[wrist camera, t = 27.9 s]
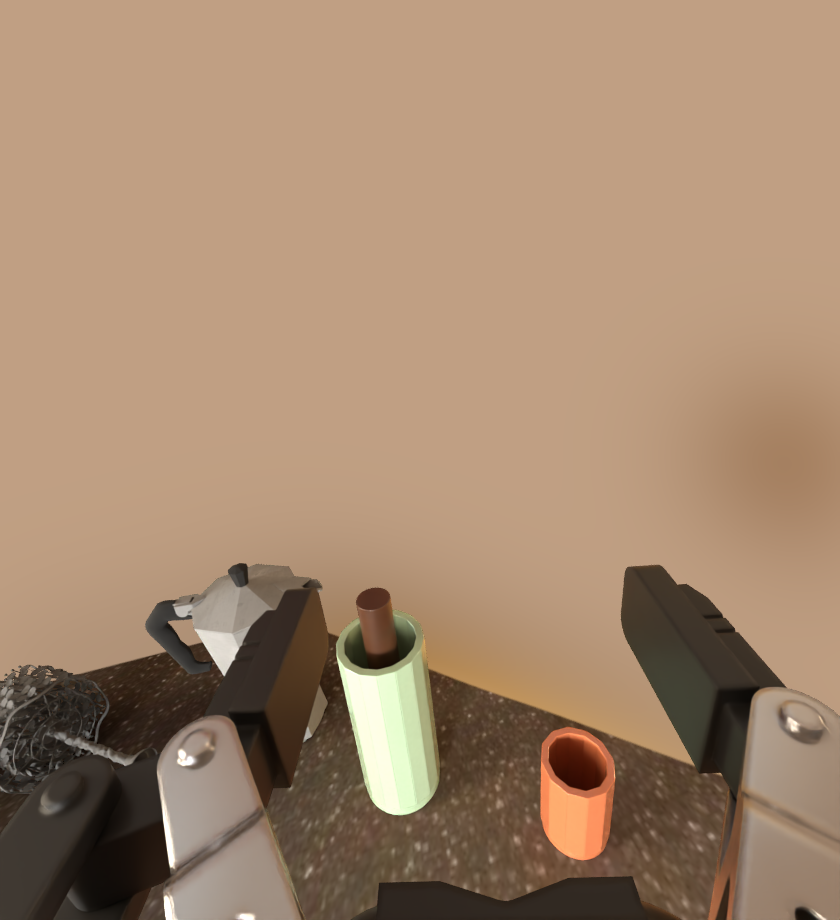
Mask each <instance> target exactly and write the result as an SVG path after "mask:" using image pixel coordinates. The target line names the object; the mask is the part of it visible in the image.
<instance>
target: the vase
mask: <svg viewBox="0 0 840 920" xmlns="http://www.w3.org/2000/svg"><path fill="white" fill-rule="evenodd" d="M392 611H393V618H394V624H395V631H396V637H397V644H398V650H399V657H400V661H399V662H398V663H396V664H395V665H393V666H390V667H386V668H382V669H378V670H375V669H369V667H368V662H367V657H366V652H365V646H364V641H363V636H362V631H361V625H360V620H359V618H357V619H355V620H353V621H352V622H351V623H350V624H349V625H348V626H347V627H346V628H345V629H344V630H343V631H342V632H341V635H340V637H339V639H338V641H337V644H336V651H337V660H338V664H339V669H340V673H341V678H342V682H343V687H344V691H345V696H346V700H347V704H348V709H349V713H350V718H351V722H352V727H353V731H354V736H355V740H356V744H357V749H358V753H359V758H360V762H361V767H362V771H363V776H364V780H365V784H366V787H367V790H368V794H369V796H370V798H371V799H372V801H373V802H374V804H375V805H376V806H377V807H379V808H380V809H381V810H383V811H385V812H387V813H389V814H394V815H406V814H410V813H413V812H415V811H417V810H419V809H420V808H422V807H423V806H424V805H425V804H426V803H428V801H429V800H430V799H431V798H432V796H433V795H434V793H435V791H436V789H437V786H438V783H439V778H440V761H439V753H438V745H437V737H436V728H435V720H434V712H433V704H432V696H431V688H430V680H429V671H428V664H427V656H426V647H425V639H424V634H423V630H422V627H421V625H420V623H419V622H418V621H417V620H416V619H415V618H414V617H413V616H412V615H410V614H407V613H405V612H402V611H399V610H392Z"/></svg>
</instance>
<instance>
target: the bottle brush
mask: <svg viewBox="0 0 840 920" xmlns="http://www.w3.org/2000/svg"><path fill="white" fill-rule="evenodd" d="M356 605H357V610H358V615H359V620H360V625H361V631H362V636H363V641H364V646H365V652H366V657H367V662H368V667H369V669H375V670H378V669H382V668H386V667H390V666H393V665H395V664H396V663H398V662H399V661H400V657H399V650H398V644H397V637H396V631H395V624H394V618H393V611H392V605H391V598H390V594H389V593H388V591H387V590H385V589H382V588H371V589H368V590H365V591H363V592H362V593H361V594H360V595H359V596H358V597H357V600H356Z"/></svg>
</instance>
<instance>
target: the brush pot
mask: <svg viewBox="0 0 840 920" xmlns="http://www.w3.org/2000/svg"><path fill="white" fill-rule="evenodd" d="M614 786H615V768H614V760H613V758H612V756H611V755H610V753H609V752H608V750H607V749H606V747H605V745H604V744H603V743H602V742H601V741H600V740H599V739H597V738H596V737H594V736H593V735H591V734H590V733H589V732H587V731H585V730H581V729H576V728H571V727H565V728H562V729H558V730H555V731H552V732H551V733H550V735H549V736H548V737H547V738H546V740H545V741H544V742H543V744H542V754H541V820H542V824H543V828H544V830H545V833H546V835H547V836H548V838H549V840H550V841H551V842H552V844H553V845H554V846H555V847H556V848H557V849H558V850H559V851H561V852H562V853H564V854H565V855H567V856H569V857H571V858H574V859H578V860H588V859H592V858H594V857H596V856H598V855H599V854H600V853H601V852H602V851H603V850H604V848H605V846H606V844H607V840H608V838H609V833H610V824H611V814H612V805H613V795H614Z"/></svg>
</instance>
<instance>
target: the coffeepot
mask: <svg viewBox="0 0 840 920" xmlns="http://www.w3.org/2000/svg"><path fill="white" fill-rule="evenodd" d="M228 573H229V574H228V575H226V576H223V577H220V578H218V579H216V580H215V581H214V582H213V583H212V584H211V585H210V586H209V587H208V588H207V589H206V590H205V591H204V592H203V593H202V594H201V595H198V594H194V595H189V596H183V597H180V598H179V599H177V600H167V601H163V602H160V603H158V604H157V605H156V607H155V608H154V610H153V611H152V613H151V614H150V616H149V618H148V619H147V621H146V624H145V626H146V630H147V632H148V633H149V634H150V635H151V636H152V637H153V638H154V639H155V640H156V641H157V642H158V643H159V644H160V645H161V646H162V647H163V648H164V649H165V650H166V651H167V652H168V653H169V654H170V655H171V656H172V657H173V658H174V659H175V660H176V661H177V662H178V663H179V664H180V665H181V666H182V667H183V668H184V669H185V670H186V671H187V672H188V673H190V674H197V673H202V672H206V671H209V670H211V667H212V661H210V662H200V661H197V660H195V658H194V656H193V654H192V651H191V650H190V648H189V647H188V646H187V645H186V644H185V643H183V642H182V641H181V640H180V638H179V637H178V635H177V633H176V632H175V630H174V629H173V628H172V626H170V624H168V621H172V620H187V619H193V626H194V630H195V631H196V632H197V634H198V635H199V637H200V639H201V640H202V642H203V643H204V645H205V647H206V648H207V650H208V651H209V653H210V655H211V656H212V658H213V659H214V661H215V662H216V664H217V666H218V667H219V669H220V670H221V672H222V674H223V675H224V676H225V674H226V672H227V670H228V669H229V667H230V665H231V663H232V661H233V660H235V655H236V653H237V651H238V650H239V648H240V646H242V642H243V640H244V638H245V636H246V634H247V632H248V631H249V629H250V627H251V625H252V624H253V623H254V622H255V621H256V620H257V619H258V618H259V617H260V616H261V615H262V614H263V613H264V612H265V611H266V610H276V609H277V607H278V605H279V602H280V600H281V598H282V596H283V594H284V592H285V591H286V590H287V589H297V588H311V587H315V588H316V589H317V590H318V592H320V591H322V585H321V583H320V582H319V581H318V580H316V579H311V578H305V577H296V576H294V575H293V573H292V571H291V569H290V568H289V567H288V566H274V565H262V564H256V565H253V566H250V567H247V565H246V564H243V563H239V564H237V565H234V566H232V567H231V568H230V569H229V570H228ZM327 704H328V702H327V700H326V698H325V696H324V693H323V691H322V689H321V687H320V685H319V687H318V691H317V694H316V698H315V701H314V705H313V709H312V712H311V716H310V719H309V723H308V727H307V730H306V734H305V737H304V741H306V740H307V739H308V738H310V737H311V736H312V735H313V733H314V732H315V730H316V728H317V727H318V725H319V723H320V721H321V719H322V716H323V714H324V710H325V708H326V706H327ZM304 741H303V742H304Z"/></svg>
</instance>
